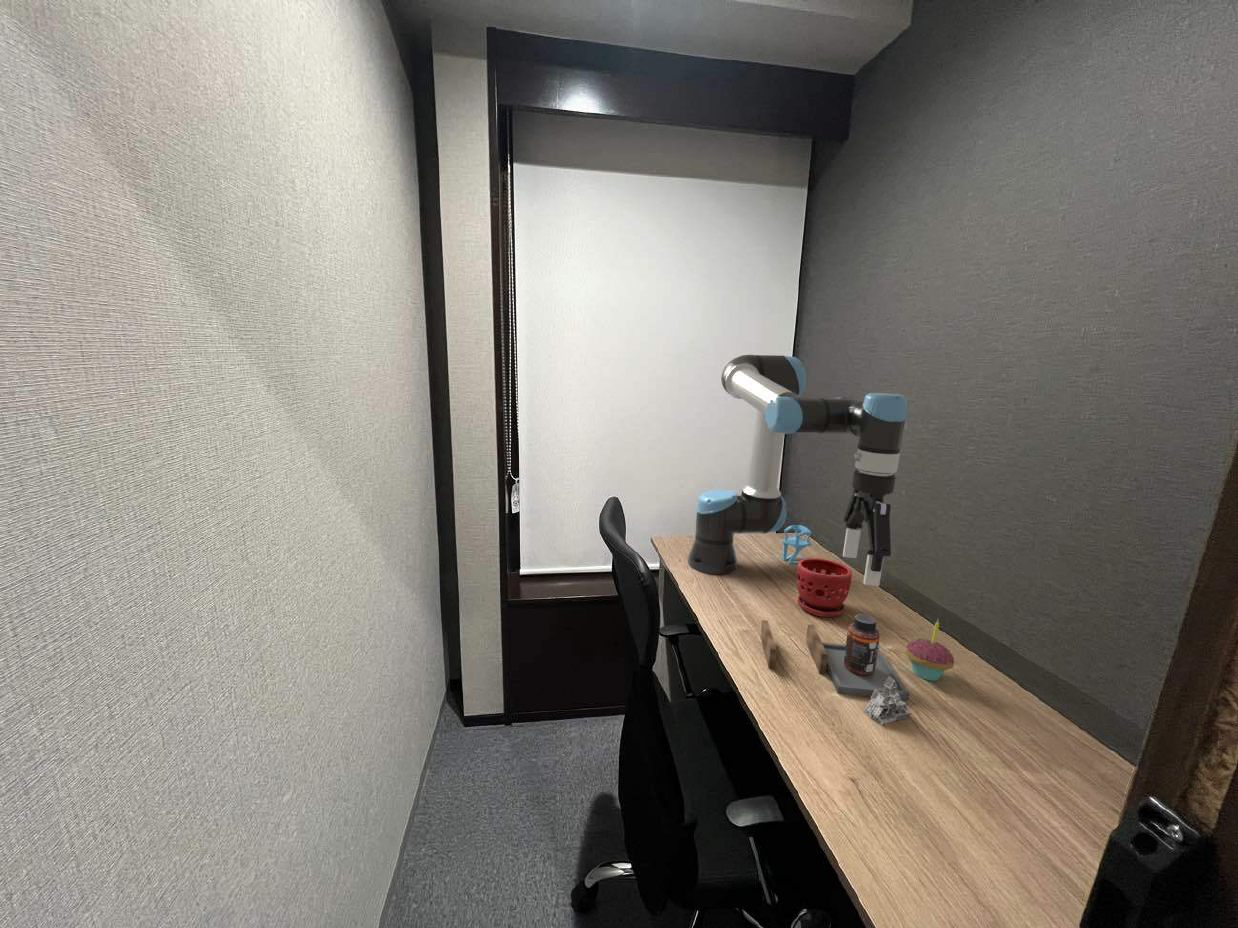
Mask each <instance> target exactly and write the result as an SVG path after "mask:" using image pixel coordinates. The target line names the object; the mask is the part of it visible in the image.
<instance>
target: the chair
mask: <svg viewBox="0 0 1238 928" xmlns="http://www.w3.org/2000/svg"><path fill="white" fill-rule="evenodd" d="M790 530H793V531H795V533H794V536H793V537H788V532H789V531H790ZM783 531H784V536H785V537H784V538H783V539H781V542H782V544H783V547H782V548H783V549H782V557H781V558H782V559H781V560H782V562H783V561H787V560H788V561H787V564H790V565H791V564H798V563H799V561H800V560H797V561H794V560H795V559H796V558H797V557H799V558H800V559H802V560H803V559H807V558H805V557H803V556H801V555H799V553H800V552H801V551H802V550H803V549H804V548H807V547H810V546H812V542H810V537H811V535H812V531H811V530H810V529H809V528H808V527H806V526H804V525H800V524H798V525H790V526H788V527H786V528H785V529H784V530H783ZM805 535H807V537H805V538H806V539H805V540H804V539H802V538H801V537H802V536H805ZM789 546H792V547H793V548H795V549H796V550H794V551H795V552H794V553H791V554H789V555H788V556H787V554H788V548H789Z"/></svg>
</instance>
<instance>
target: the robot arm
mask: <svg viewBox="0 0 1238 928" xmlns="http://www.w3.org/2000/svg"><path fill="white" fill-rule="evenodd" d="M806 375H807V374H806V369H805V367H804V365H803V362H802V361H801V360H800V359H799V358H797V357H796V356H789V355H783V354H782V355H774V354H773V355H771V354H770V355H769V354H768V355H767V354H766V355H765V354H764V355H761V354H759V355H758V354H744V355H740V356H737V357H734V358H733V359H732V360H730V361H728V363H727V364H726V365H725V366H724V367H723V369H722V372H721V380H720V381H721V384H722V387H723V390H725V392H726V393H728V395H730V396H731V397H733V398H735V399H738V400H743V401H745V402H746V403H747V404H749V405H750V406H752V407H753V408H754V409H756V414H755V415H756V416H755V423H754V430H753V431H754V432H753V440H752V447H751V455H750V465H749V472H748V478H747V479H748V480H747V484H745V485H744V486H743V487H742V488H741V494H740V495H737V493H736V492H735V491H733V490H730V489H711V490H708V491H705V492H703V493H702V494H700V496H698V499H697V506H696V509H695V510H696V518H695V519H696V520H695V535H694V541H693V543H692V547H691V549H690V551H689V553H688V556H687V557H688V558H687V564H688V566H689V568H691V569H693V570H695V571H697V572H700V573H704V574H709V575H727V574H731V573H734V572H736V570H737V568H738V558H737V557H738V556H737V555H736V550H735V547H734V546H735V545H734V536H735V534H763V535H764V534H768V533H776V532H778V531H779V530H780V529H781V528H782V527H783V526H784V524H785V521H786V519H787V513H788V512H787V511H788V510H787V507H786V506H787V503H786V500H785V498H784V497H783V496H782V492H781V491H780V489H778V480H779V475H780V466H781V462H782V461H781V459H782V453H783V445H784V437H785V435H792V434H821V435H822V434H826V435H827V434H828V435H829V434H830V435H831V434H833V435H834V434H835V435H850V436H854V437H855V436H856V437H858V442H857V448H856V449H857V450H856V453H854V454H853V458H854V459H855V463H854V467H855V468H856V469H855V470H854V471H853V476H852V483H851V487H852V488H853V490H852V495H851V498H850V500H849V503H848V506H847V509H846V511H845V515H844V517H843V521H844V523H845V526H846V530H845V538H844V544H843V545H844V546H843V552H842V557H843V558H852V559H857V557H858V550H859V544H860V543H859V542H860V537H861V531H862V530H861V529H863V522H865V523H867V524H866V525H867V532H868V540H869V550H868V551H866V555H867V556H866V564H865V570H864V571H865V572H864V575H863V581H862V582H863V584H864V585H865V586H874V587H875V586H877V587H880V584H881V577H882V571H883V566H884V561H885V560H884V559H885V557H891V554H892V552H891V551H892V548H891V521H890V520H891V519H890V518H891V517H890V515H891V504H890V503H885V502H884V497H885V495H891V494H893V492H894V490H895V483H896V479H897V477H896V475H895V473H897V472H898V467H899V462H900V455H901V447H902V440H903V435H904V429H905V423H906V419H907V417H908V416H907V408H908V398H907V397H906V396H905V395H902V394H899V393H887V392H886V393H885V392H869V393H867V394H865V396H864V400H862V399H858V398H855V397H850V396H849V397H848V396H847V397H845V396H844V397H843V396H841V397H834V398H831V397H830V398H824V397H804V396H803V397H802V395H804V392H805V389H806V386H807V376H806Z"/></svg>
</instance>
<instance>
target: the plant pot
mask: <svg viewBox="0 0 1238 928" xmlns="http://www.w3.org/2000/svg"><path fill="white" fill-rule="evenodd" d="M798 561H799V563H797V567H796V568H797V569H796V583H797V584H796V586H797V590H798V593H799V595H798V597H797V598H796V599H797V600H796V601H797V604H798V605H799V606H800V608H801V609H802V610H804V611H805V612H807V613H809V614H811V615H814V616H819V617H824V618H831V617H832V618H833V617H837V616H840V615H842V614H843V613H844V612H845V607H846V606H845V605H844V602H846V599H847V597H848V594H849V592H850V589H851V583H852V576H853V571H852V570H851V569H850V568H849V567H848V566H847V565H845V564H844V563H843V564H842V563H840V562H838V561H834V560H830V559H823V558H814V557H813V558H806V559H803V558H802V560H798ZM814 569H815V570H814ZM823 570H824V571H825V573H822V571H823ZM832 574H834V575H832Z"/></svg>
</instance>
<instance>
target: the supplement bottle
mask: <svg viewBox="0 0 1238 928" xmlns="http://www.w3.org/2000/svg"><path fill="white" fill-rule="evenodd" d="M847 627H848V628H847V635H846V642H845V645H846V648H845V656H844V665H845V667H846V668H847V669H848V670H850V671H851V672H854V673H856V674H860V675H871V674H873V673H874V671H875V666H876V660H877V652H878V648H879V644H880V635H881V634H880V632H879V630H878V629H877V620H876V618H874V617H872V616H871V615H867V614H862V613H861V614H860V613H859V614H856V615H855V616H854V620H853V623H850V624H849V626H847Z"/></svg>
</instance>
